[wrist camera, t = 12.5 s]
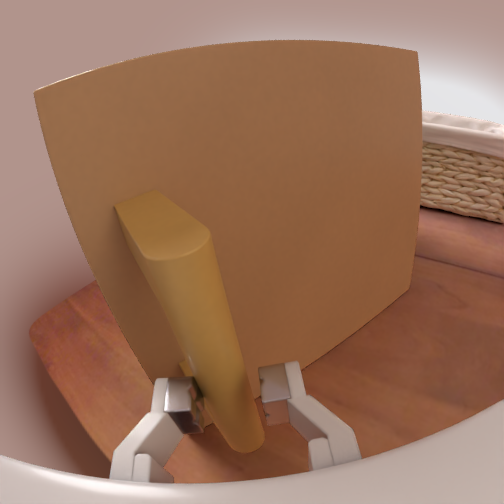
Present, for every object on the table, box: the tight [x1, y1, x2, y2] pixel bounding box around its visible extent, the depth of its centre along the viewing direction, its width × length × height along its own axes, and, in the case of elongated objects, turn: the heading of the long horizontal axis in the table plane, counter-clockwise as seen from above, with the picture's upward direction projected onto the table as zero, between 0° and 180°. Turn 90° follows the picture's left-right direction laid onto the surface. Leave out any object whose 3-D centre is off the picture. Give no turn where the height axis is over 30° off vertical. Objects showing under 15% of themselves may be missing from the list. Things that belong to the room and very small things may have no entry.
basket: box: [420, 111, 504, 223], centre depth 44 cm, size 24×16×15 cm
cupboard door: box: [34, 40, 422, 453], centre depth 18 cm, size 8×26×24 cm, turn 122°
